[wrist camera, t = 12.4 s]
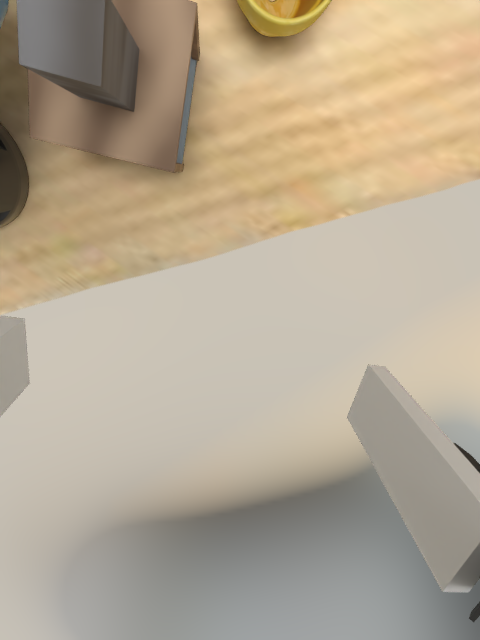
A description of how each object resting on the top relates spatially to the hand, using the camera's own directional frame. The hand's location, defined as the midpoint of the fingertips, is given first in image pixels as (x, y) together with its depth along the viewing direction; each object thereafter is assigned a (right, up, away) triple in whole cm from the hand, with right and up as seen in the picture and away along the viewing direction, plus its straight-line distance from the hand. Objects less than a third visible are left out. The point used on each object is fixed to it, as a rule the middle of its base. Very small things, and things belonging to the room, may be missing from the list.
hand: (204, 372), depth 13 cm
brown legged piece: (-11, +28, +26) cm, 39 cm away
